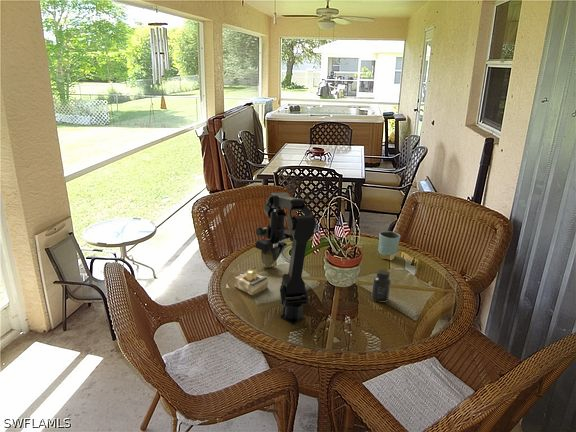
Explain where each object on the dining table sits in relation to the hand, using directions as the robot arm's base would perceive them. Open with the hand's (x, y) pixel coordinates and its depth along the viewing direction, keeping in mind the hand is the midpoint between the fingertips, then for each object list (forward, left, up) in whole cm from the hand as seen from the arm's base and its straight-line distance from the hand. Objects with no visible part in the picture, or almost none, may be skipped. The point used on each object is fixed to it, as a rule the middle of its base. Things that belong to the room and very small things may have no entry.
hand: (275, 260), depth 169 cm
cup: (+14, -12, -12) cm, 22 cm away
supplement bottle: (-36, -24, -12) cm, 45 cm away
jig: (+6, +7, -12) cm, 15 cm away
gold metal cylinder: (+6, +7, -12) cm, 15 cm away
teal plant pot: (-18, -65, -12) cm, 69 cm away
